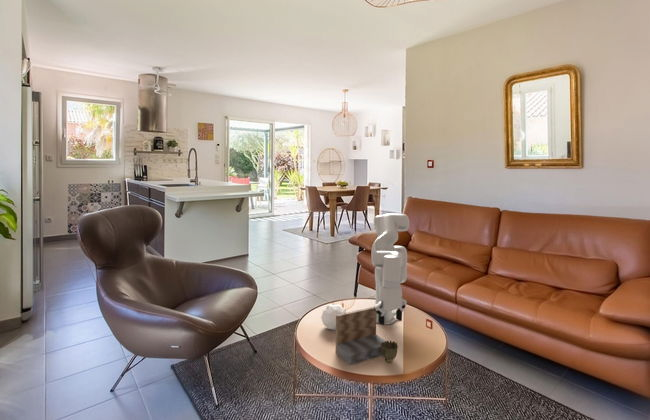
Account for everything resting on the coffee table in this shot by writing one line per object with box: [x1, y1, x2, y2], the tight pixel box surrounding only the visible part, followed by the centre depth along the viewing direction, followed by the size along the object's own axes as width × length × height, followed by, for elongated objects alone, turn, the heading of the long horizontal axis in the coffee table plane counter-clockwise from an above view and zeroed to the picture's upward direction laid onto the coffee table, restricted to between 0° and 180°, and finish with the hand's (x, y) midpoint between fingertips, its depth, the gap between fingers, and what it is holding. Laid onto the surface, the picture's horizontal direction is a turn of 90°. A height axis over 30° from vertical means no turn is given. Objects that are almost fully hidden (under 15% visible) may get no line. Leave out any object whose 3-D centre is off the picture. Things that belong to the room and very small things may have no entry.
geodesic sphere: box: [320, 303, 346, 331], centre depth 191 cm, size 14×14×14 cm
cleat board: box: [334, 306, 386, 366], centre depth 166 cm, size 22×12×18 cm, turn 119°
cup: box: [381, 340, 399, 364], centre depth 159 cm, size 8×7×8 cm
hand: (390, 321), depth 157 cm, fingers open, 9 cm apart
